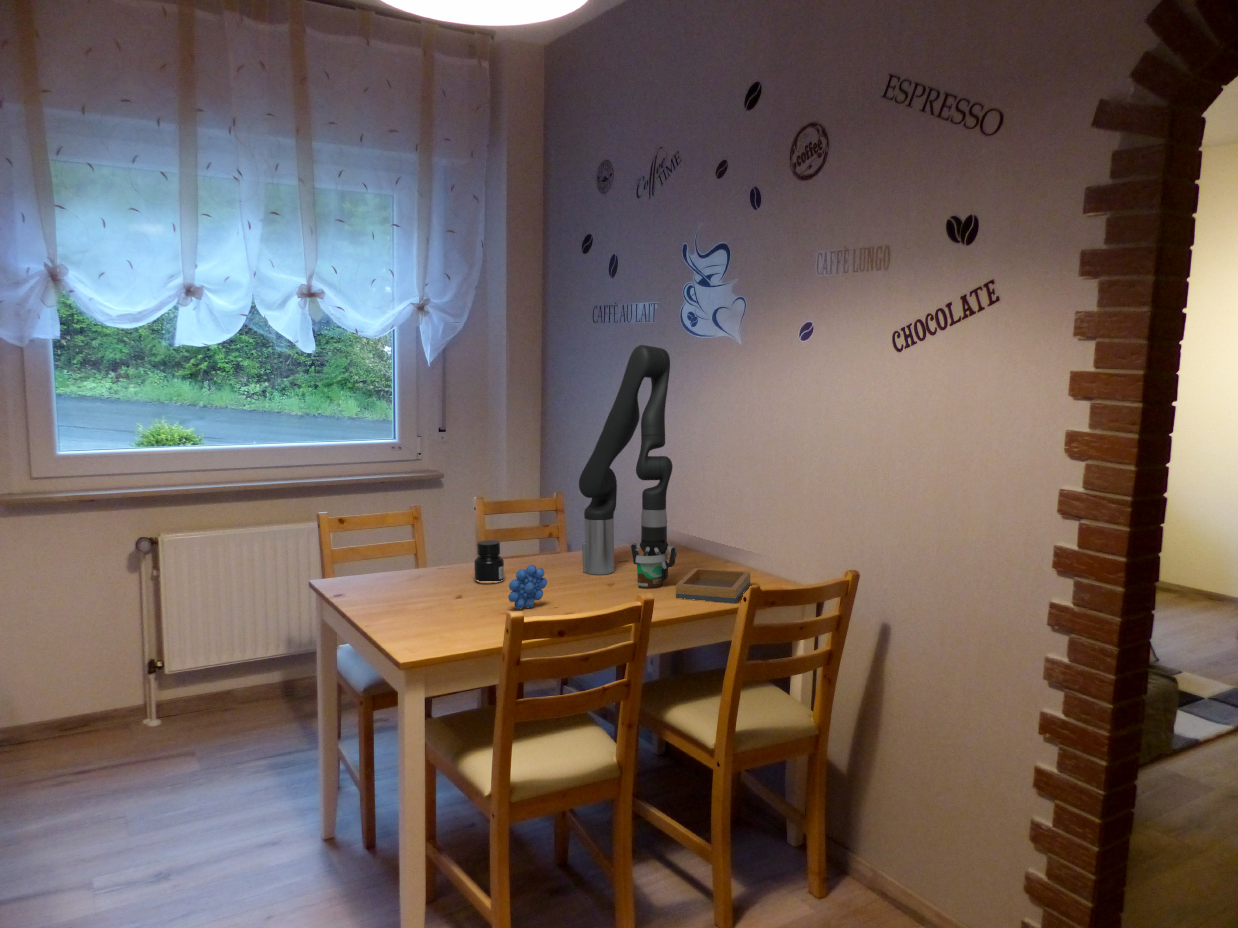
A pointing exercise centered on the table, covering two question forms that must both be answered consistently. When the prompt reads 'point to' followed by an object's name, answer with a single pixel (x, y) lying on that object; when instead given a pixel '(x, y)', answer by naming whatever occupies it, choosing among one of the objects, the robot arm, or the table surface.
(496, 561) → the ink bottle
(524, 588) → the grapes
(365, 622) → the table surface
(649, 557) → the food container
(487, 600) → the table surface
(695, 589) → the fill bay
